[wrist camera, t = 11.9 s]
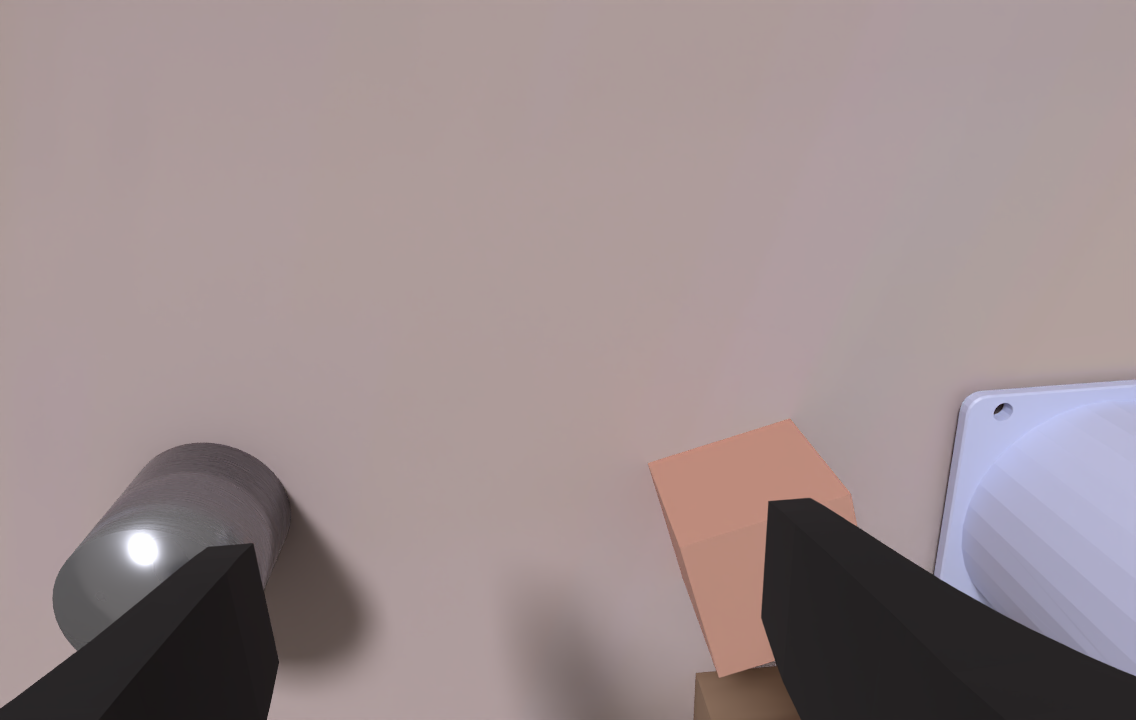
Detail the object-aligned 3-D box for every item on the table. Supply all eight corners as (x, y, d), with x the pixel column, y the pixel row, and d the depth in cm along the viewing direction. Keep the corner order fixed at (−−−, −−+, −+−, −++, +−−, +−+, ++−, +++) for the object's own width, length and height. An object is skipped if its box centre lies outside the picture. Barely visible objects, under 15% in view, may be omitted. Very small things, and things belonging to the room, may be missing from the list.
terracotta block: (788, 417, 22) (851, 493, 18) (814, 535, 23) (877, 629, 19) (647, 461, 22) (679, 547, 18) (682, 576, 23) (719, 678, 19)
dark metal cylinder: (277, 436, 20) (229, 522, 17) (302, 567, 22) (263, 674, 18) (114, 448, 20) (28, 539, 16) (151, 580, 22) (79, 691, 18)
